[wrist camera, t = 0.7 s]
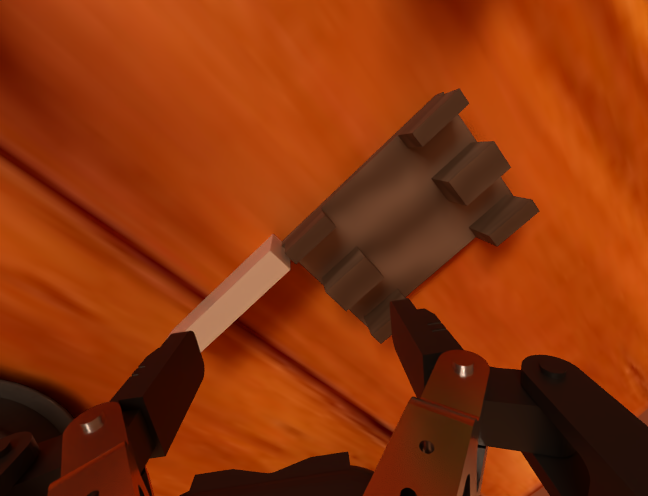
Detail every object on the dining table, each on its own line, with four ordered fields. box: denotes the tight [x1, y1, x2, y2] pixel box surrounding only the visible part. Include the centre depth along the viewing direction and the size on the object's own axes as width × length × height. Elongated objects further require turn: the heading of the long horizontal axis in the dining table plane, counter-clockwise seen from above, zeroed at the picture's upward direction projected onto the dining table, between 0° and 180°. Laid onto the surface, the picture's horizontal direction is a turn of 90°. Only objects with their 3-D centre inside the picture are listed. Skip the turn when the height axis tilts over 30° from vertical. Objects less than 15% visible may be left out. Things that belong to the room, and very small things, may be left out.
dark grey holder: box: [281, 89, 539, 343], centre depth 30 cm, size 14×21×5 cm, turn 133°
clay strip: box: [165, 234, 290, 352], centre depth 30 cm, size 2×16×6 cm, turn 133°
